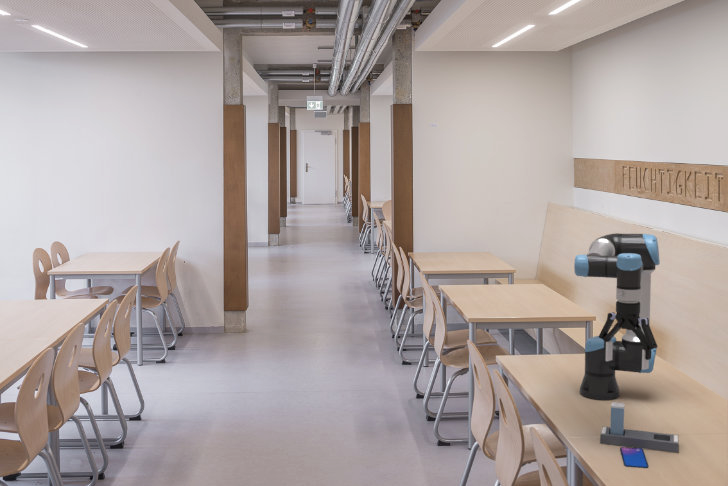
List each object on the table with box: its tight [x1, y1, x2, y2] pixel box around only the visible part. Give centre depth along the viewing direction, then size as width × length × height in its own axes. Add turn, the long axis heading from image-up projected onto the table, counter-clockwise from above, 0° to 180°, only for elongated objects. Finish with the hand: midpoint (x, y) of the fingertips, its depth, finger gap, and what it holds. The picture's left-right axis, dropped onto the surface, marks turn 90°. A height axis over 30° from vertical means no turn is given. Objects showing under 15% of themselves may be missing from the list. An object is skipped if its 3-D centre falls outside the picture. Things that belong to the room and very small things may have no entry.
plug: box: [610, 401, 625, 436], centre depth 253 cm, size 4×4×13 cm
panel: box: [599, 426, 680, 454], centre depth 250 cm, size 8×24×3 cm, turn 68°
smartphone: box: [619, 446, 649, 469], centre depth 239 cm, size 7×1×15 cm
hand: (626, 364), depth 249 cm, fingers open, 13 cm apart
